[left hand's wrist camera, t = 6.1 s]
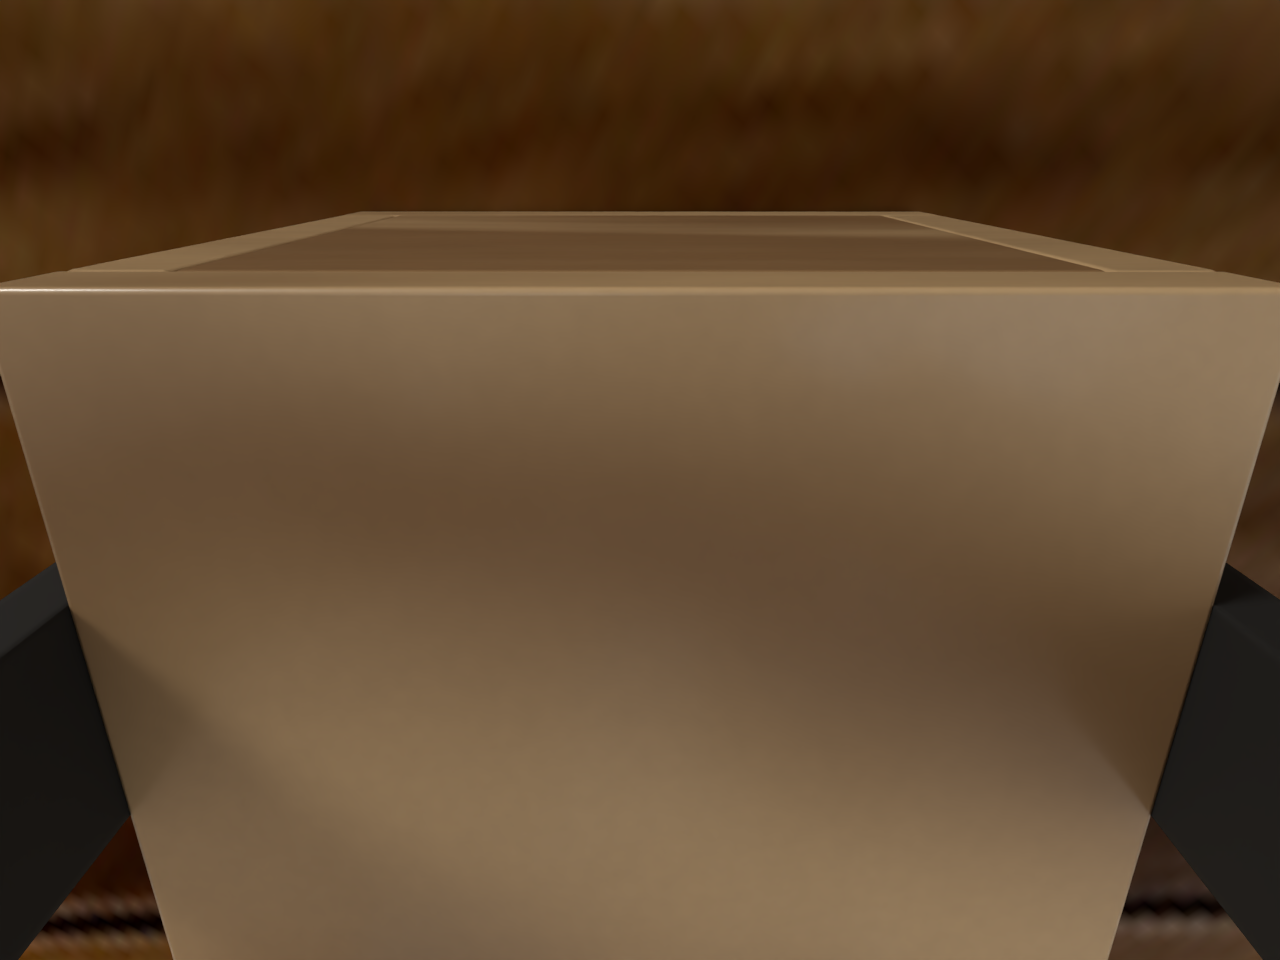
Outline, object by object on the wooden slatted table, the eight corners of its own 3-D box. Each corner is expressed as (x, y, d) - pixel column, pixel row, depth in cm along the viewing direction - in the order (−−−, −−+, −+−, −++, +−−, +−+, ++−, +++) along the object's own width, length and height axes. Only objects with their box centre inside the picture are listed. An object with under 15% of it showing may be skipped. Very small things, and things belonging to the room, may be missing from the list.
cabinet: (831, 958, 25) (955, 1480, 15) (449, 958, 25) (324, 1479, 15) (922, 211, 17) (1312, 287, 7) (359, 211, 17) (-30, 287, 7)
